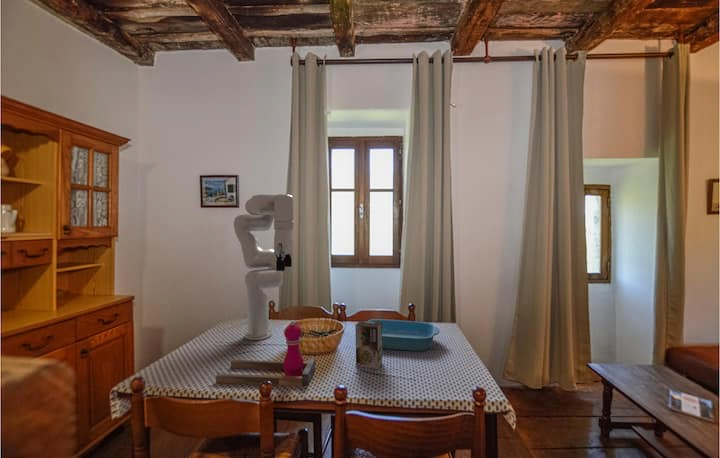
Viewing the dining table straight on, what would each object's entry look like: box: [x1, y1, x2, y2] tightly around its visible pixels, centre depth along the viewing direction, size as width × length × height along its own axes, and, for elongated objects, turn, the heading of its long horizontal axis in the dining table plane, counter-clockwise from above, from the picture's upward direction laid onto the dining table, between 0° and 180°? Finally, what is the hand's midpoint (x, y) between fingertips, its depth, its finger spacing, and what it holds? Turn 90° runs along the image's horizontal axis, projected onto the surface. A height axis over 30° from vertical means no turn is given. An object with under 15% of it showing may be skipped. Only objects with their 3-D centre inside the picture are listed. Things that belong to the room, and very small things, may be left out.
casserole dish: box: [367, 318, 440, 352], centre depth 153 cm, size 37×22×7 cm, turn 76°
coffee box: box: [354, 320, 383, 370], centre depth 130 cm, size 9×6×16 cm
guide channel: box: [215, 357, 317, 387], centre depth 121 cm, size 13×32×4 cm, turn 86°
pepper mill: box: [283, 320, 305, 376], centre depth 121 cm, size 7×7×20 cm
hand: (284, 268), depth 135 cm, fingers open, 9 cm apart
